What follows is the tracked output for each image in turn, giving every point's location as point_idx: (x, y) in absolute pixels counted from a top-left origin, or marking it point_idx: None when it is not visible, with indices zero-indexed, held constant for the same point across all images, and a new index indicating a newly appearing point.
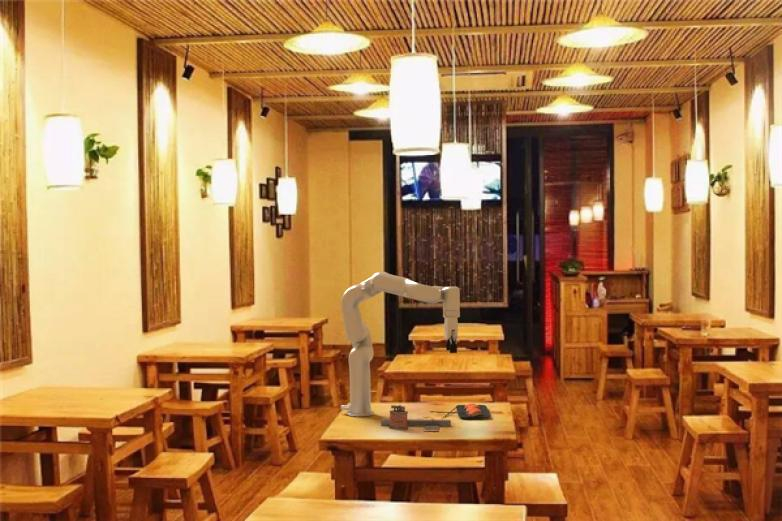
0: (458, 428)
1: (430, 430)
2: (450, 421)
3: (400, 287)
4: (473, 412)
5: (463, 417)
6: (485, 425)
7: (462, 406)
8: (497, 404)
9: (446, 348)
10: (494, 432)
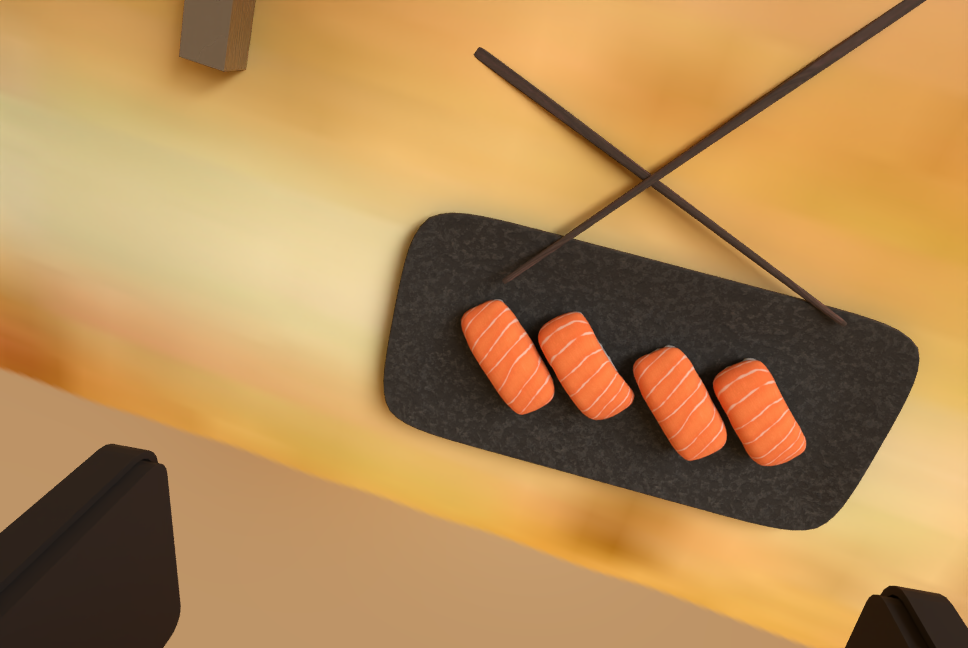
0: (136, 96)
1: None
2: (183, 54)
3: None
4: (468, 339)
5: (416, 234)
6: (220, 313)
7: (877, 377)
8: None
9: (922, 632)
10: (20, 293)
